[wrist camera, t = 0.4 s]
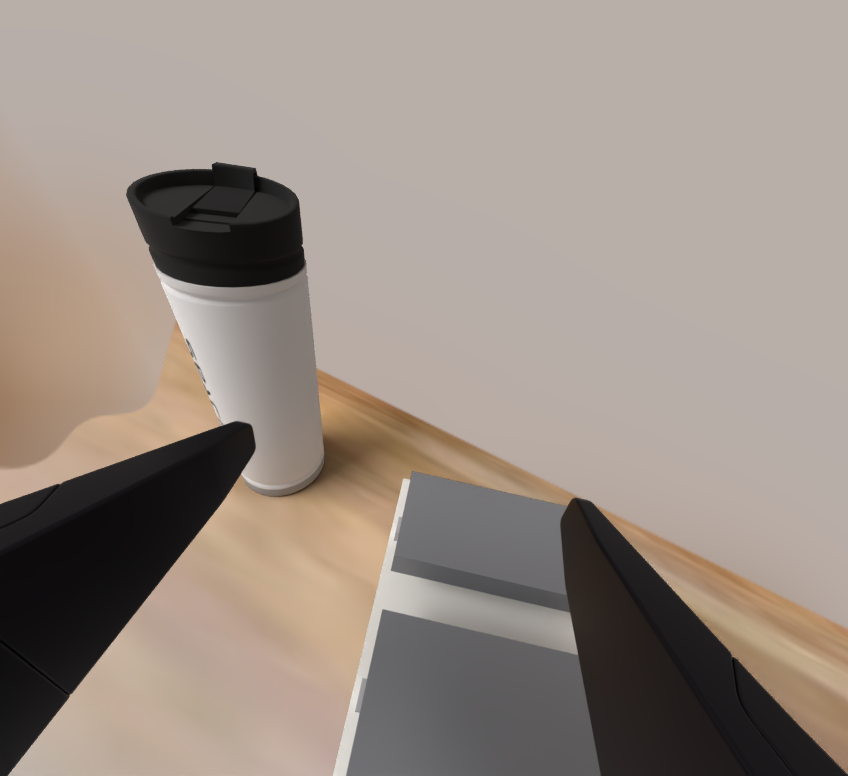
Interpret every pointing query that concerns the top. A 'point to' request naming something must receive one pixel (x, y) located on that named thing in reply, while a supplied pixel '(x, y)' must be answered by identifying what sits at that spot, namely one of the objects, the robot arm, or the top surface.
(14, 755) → the robot arm
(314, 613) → the top surface
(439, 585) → the switch unit
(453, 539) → the plate
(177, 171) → the travel mug
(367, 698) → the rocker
